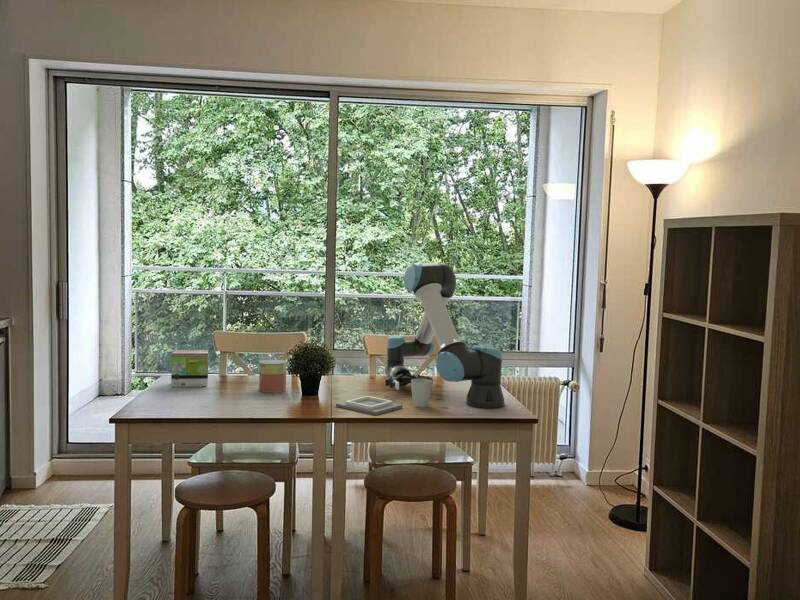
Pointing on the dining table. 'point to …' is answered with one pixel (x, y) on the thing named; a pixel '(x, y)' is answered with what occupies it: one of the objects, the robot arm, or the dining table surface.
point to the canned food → (272, 375)
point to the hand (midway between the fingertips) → (414, 385)
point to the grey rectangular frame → (370, 405)
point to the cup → (421, 391)
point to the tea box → (189, 368)
